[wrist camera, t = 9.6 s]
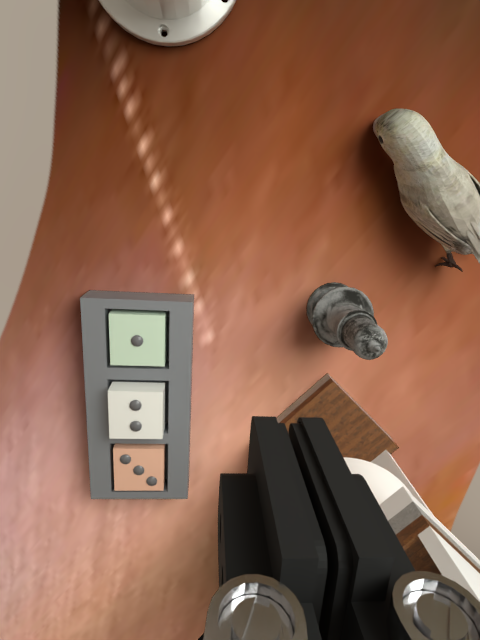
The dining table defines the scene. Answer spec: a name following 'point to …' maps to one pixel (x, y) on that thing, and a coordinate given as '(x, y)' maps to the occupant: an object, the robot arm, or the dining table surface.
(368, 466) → the brown-banded white pillar
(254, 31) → the dining table surface
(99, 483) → the button board
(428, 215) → the decorative bird
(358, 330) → the grey chess piece
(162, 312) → the button one
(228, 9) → the robot arm
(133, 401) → the button two
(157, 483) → the button three
